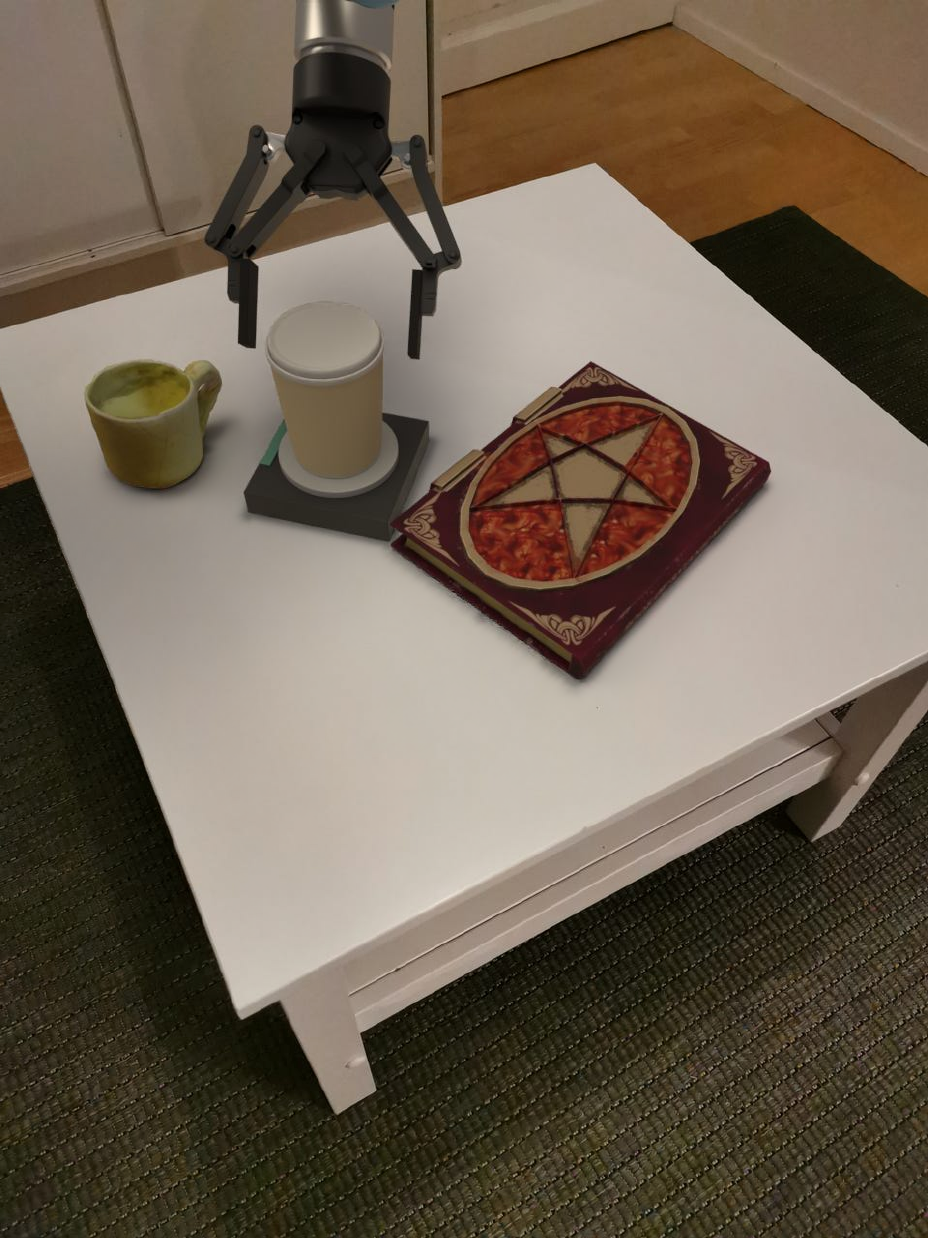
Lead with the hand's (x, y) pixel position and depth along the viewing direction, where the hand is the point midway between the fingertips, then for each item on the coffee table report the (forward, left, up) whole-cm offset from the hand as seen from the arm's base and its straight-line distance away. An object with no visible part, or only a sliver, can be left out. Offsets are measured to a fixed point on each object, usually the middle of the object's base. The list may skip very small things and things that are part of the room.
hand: (330, 352), depth 74 cm
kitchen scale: (0, -1, -13) cm, 13 cm away
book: (+22, 0, -13) cm, 26 cm away
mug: (-16, -2, -13) cm, 21 cm away
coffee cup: (0, -1, -10) cm, 10 cm away
